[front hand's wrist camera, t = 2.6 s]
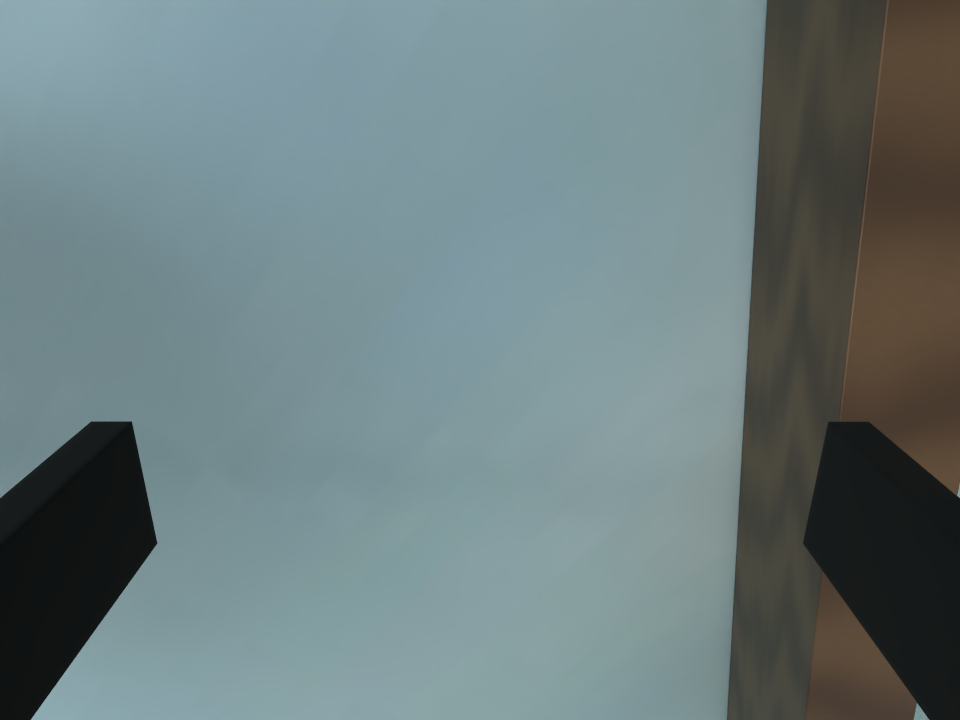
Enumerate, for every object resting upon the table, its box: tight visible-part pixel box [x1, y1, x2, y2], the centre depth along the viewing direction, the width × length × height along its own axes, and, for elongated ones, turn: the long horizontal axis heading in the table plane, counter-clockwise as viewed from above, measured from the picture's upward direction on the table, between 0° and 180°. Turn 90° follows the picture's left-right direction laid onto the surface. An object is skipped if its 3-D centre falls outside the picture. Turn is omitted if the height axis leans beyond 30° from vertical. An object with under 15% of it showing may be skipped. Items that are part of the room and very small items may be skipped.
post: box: [727, 0, 960, 720], centre depth 26 cm, size 67×5×9 cm, turn 5°
